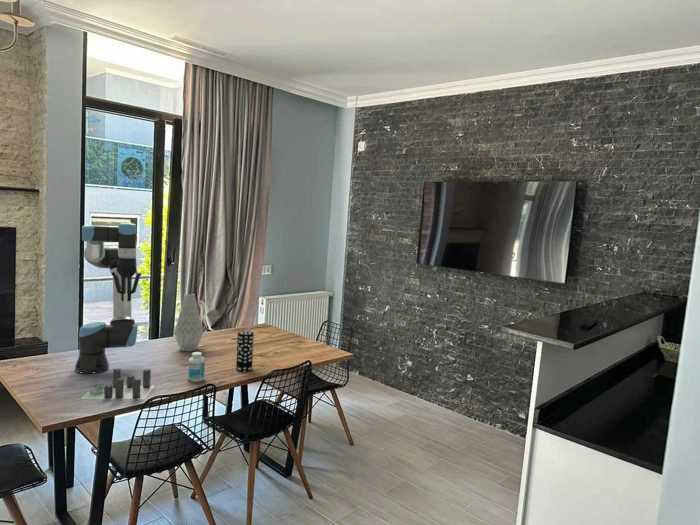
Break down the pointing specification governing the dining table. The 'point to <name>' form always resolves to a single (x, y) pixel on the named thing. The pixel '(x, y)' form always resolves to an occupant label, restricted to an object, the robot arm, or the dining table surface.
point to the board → (126, 394)
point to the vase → (188, 325)
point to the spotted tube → (244, 351)
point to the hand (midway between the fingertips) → (126, 308)
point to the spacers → (131, 383)
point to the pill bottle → (196, 367)
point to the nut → (96, 388)
